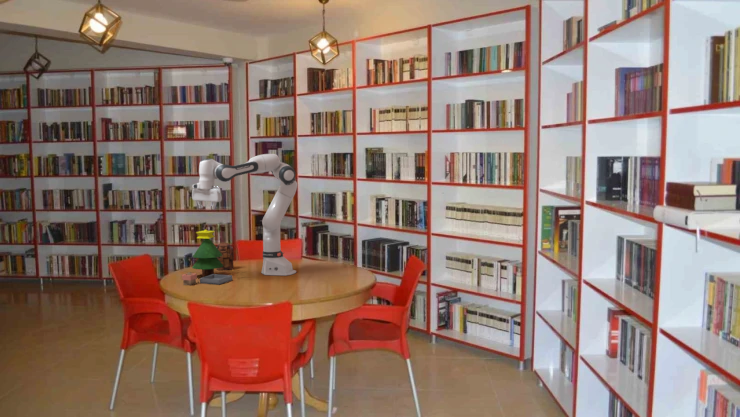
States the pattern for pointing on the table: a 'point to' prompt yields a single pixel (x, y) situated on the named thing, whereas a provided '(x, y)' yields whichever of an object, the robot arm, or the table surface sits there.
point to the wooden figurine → (226, 256)
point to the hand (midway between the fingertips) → (206, 208)
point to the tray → (216, 279)
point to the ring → (189, 277)
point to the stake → (187, 282)
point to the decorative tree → (207, 254)
